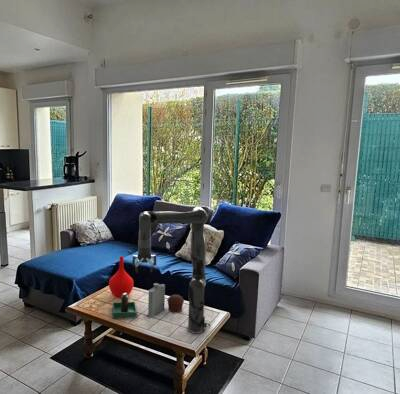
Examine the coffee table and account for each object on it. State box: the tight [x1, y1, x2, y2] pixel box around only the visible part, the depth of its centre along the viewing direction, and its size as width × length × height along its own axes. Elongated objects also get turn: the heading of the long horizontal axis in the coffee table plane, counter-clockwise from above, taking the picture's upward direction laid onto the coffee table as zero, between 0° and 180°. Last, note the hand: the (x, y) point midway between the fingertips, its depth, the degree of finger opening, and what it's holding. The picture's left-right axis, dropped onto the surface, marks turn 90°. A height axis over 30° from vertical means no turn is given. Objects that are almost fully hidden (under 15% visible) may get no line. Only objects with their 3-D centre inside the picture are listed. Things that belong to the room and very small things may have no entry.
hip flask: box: [147, 282, 166, 318], centre depth 229 cm, size 16×4×20 cm, turn 142°
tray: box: [112, 301, 138, 319], centre depth 229 cm, size 15×15×4 cm
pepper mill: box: [120, 293, 129, 312], centre depth 228 cm, size 5×5×12 cm
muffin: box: [166, 294, 185, 313], centre depth 234 cm, size 12×11×10 cm
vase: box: [108, 255, 135, 299], centre depth 253 cm, size 18×18×30 cm
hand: (144, 272), depth 204 cm, fingers open, 8 cm apart
